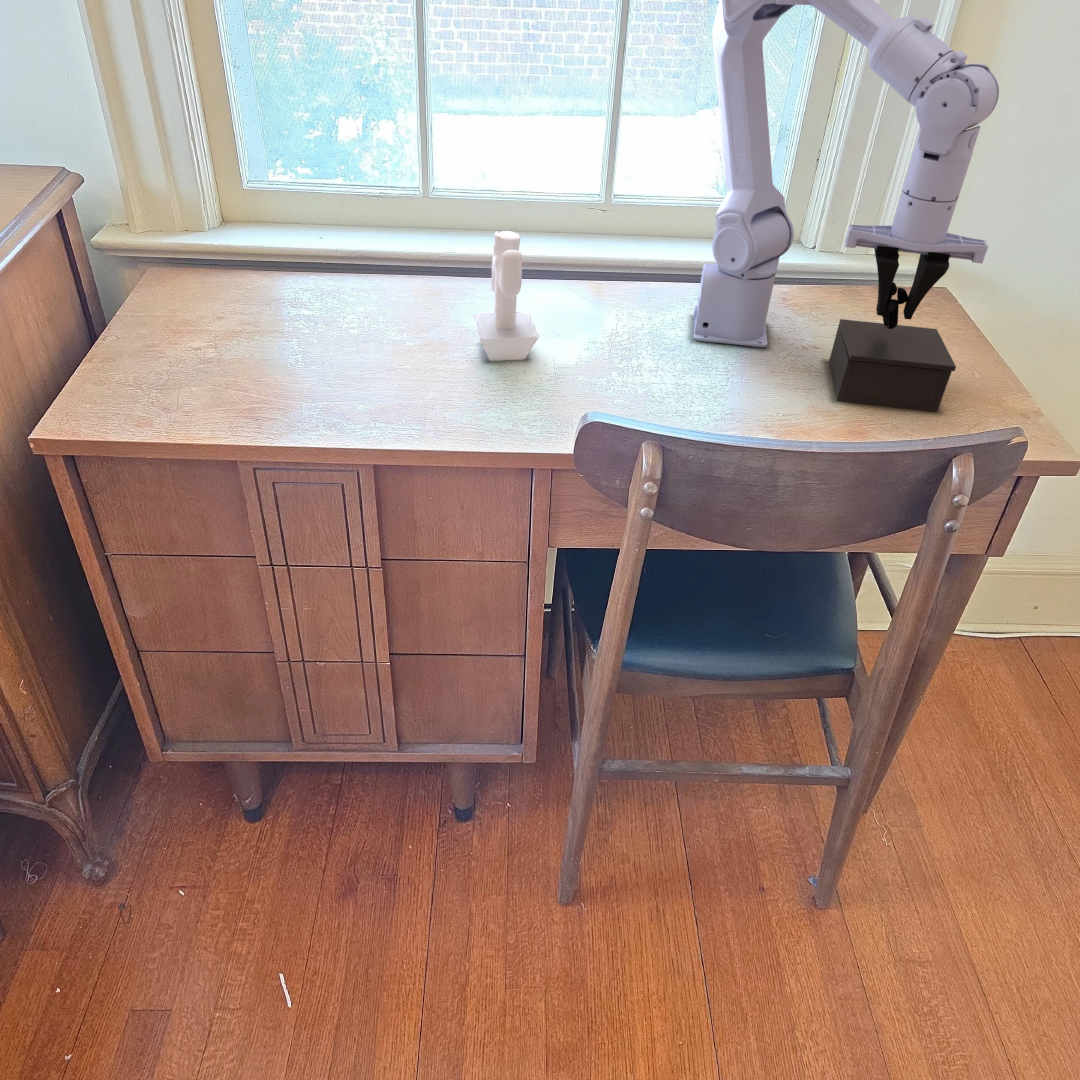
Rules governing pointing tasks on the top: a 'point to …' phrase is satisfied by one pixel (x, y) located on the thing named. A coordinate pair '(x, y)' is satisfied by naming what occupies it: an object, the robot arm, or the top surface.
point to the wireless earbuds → (894, 306)
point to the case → (885, 382)
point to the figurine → (506, 305)
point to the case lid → (896, 345)
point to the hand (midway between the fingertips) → (893, 314)
